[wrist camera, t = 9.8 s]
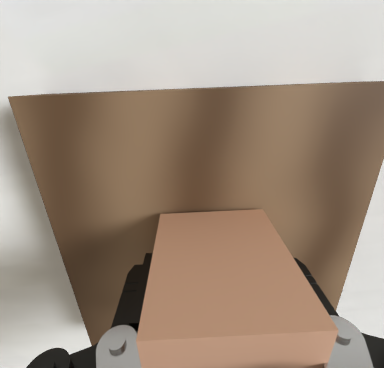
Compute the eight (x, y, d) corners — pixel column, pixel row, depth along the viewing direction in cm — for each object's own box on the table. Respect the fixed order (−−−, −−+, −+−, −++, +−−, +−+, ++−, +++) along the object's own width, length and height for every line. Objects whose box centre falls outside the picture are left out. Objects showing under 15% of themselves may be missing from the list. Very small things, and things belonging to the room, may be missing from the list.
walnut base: (363, 81, 11) (408, 81, 9) (309, 304, 18) (327, 337, 16) (43, 94, 11) (8, 96, 9) (104, 314, 18) (92, 348, 15)
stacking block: (262, 208, 11) (339, 330, 6) (255, 284, 13) (306, 428, 8) (160, 214, 11) (135, 341, 6) (168, 289, 13) (156, 437, 8)
